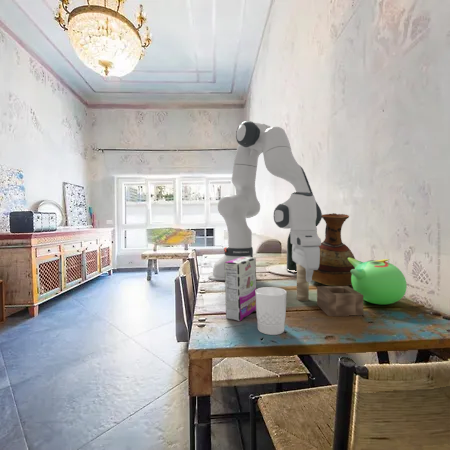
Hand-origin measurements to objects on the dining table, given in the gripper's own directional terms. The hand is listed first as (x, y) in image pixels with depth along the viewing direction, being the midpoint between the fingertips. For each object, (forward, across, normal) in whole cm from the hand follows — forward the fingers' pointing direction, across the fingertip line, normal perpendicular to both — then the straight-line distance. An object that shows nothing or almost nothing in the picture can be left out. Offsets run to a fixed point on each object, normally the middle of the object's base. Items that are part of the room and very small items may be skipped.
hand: (304, 278), depth 94 cm
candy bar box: (+7, +14, -23) cm, 28 cm away
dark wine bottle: (+7, -47, +10) cm, 49 cm away
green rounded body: (+8, +4, +22) cm, 24 cm away
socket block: (+8, +11, +7) cm, 15 cm away
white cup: (+8, +24, -16) cm, 30 cm away
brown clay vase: (+8, -21, +18) cm, 28 cm away
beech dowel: (+7, 0, -1) cm, 7 cm away
